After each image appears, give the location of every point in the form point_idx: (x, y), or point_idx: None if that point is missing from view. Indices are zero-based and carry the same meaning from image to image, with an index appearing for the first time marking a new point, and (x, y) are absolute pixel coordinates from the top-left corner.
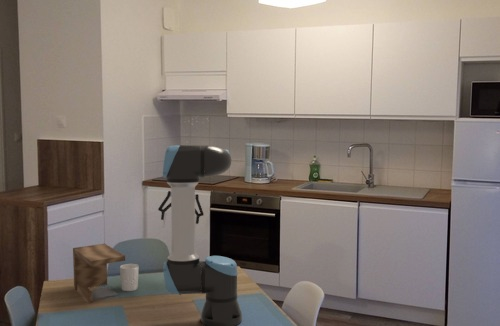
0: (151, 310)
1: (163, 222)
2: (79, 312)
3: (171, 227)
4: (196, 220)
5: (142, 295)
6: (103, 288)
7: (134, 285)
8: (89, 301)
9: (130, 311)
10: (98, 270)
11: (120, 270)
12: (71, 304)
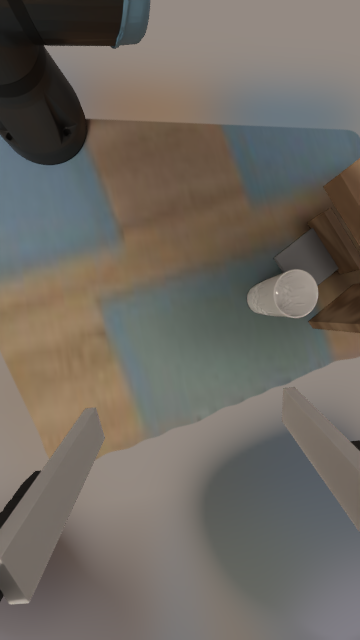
0: (192, 179)
1: (318, 413)
2: (313, 170)
3: None
4: (26, 505)
5: (228, 261)
6: None
7: (255, 287)
8: (313, 218)
9: (229, 174)
10: (354, 311)
11: (308, 281)
12: None
